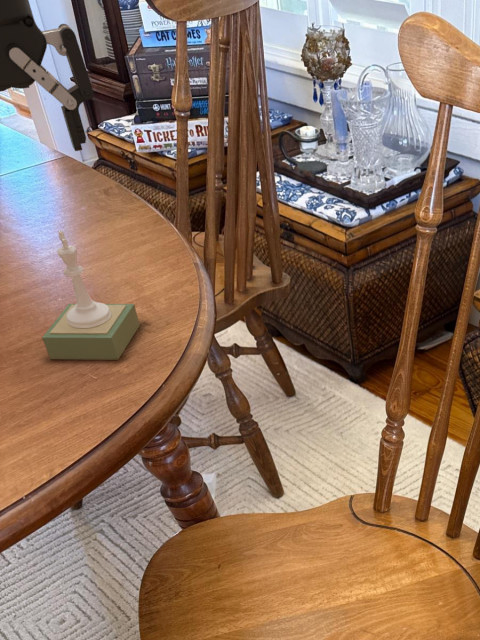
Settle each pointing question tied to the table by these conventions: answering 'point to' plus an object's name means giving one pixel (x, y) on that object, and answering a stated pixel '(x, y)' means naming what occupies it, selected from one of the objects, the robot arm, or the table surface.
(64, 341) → the green square box
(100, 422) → the table surface
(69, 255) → the chess piece
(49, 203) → the table surface
